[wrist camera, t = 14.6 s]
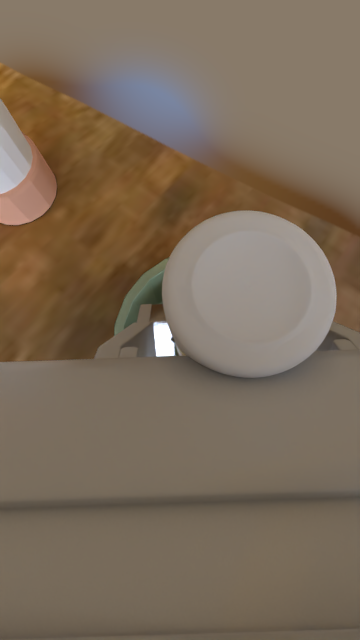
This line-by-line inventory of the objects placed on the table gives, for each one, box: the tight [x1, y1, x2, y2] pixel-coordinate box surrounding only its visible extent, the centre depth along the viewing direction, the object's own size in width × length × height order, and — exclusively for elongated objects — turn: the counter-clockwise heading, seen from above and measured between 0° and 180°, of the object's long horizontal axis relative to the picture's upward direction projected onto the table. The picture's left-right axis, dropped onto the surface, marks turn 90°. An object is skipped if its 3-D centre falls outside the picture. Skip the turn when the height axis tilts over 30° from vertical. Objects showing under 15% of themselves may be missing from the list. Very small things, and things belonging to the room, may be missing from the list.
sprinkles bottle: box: [162, 211, 336, 378], centre depth 13 cm, size 5×5×14 cm
